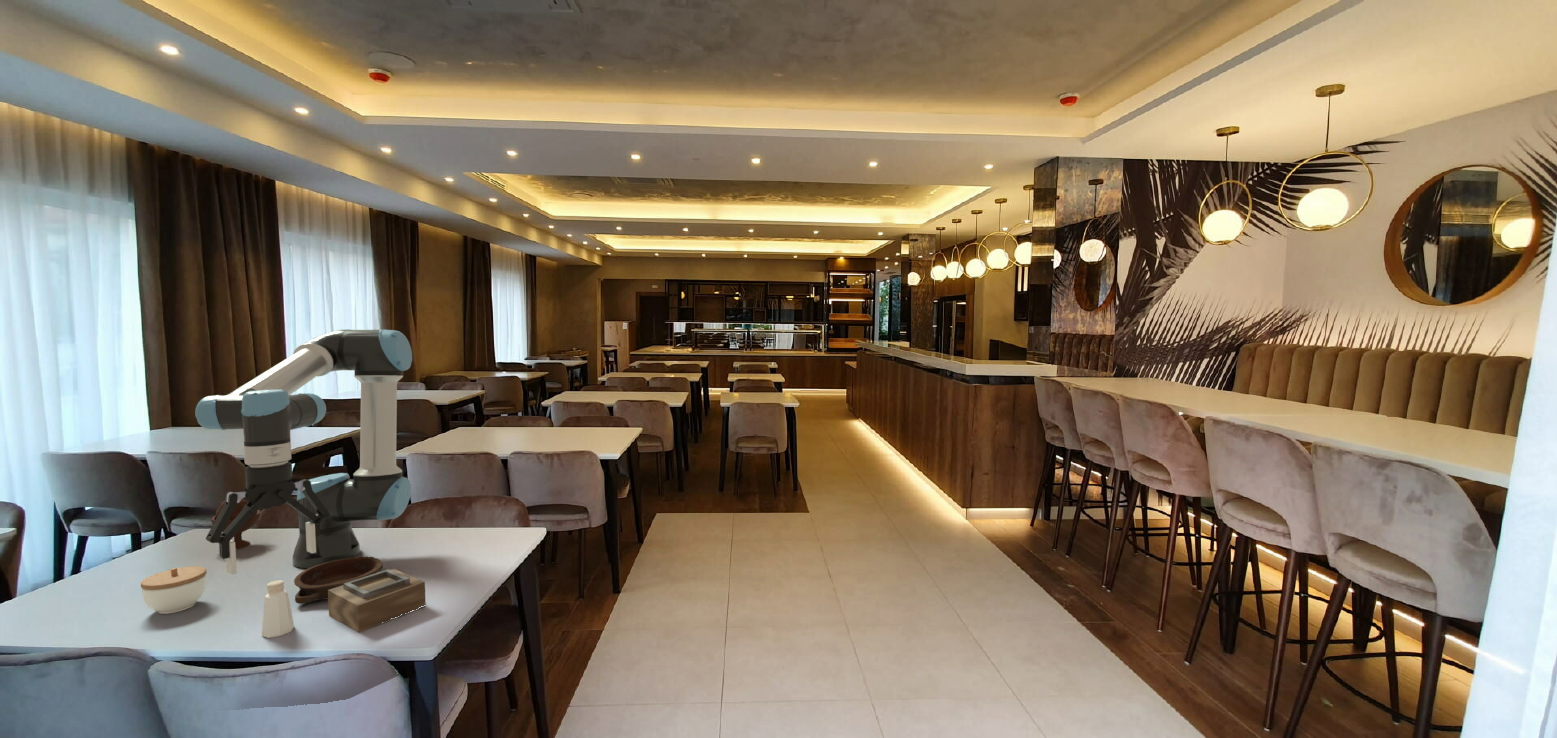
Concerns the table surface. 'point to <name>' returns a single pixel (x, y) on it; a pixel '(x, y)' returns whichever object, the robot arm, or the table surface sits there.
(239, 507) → the ice cream bowl
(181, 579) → the lidded jar
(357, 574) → the dish
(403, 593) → the display riser
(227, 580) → the table surface
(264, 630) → the pepper shaker
